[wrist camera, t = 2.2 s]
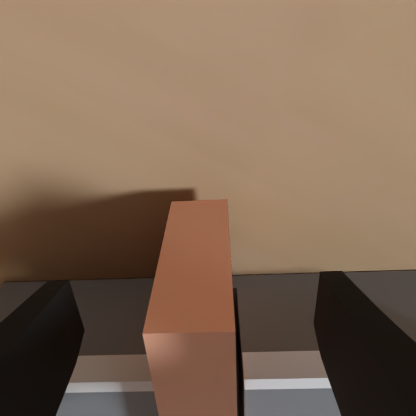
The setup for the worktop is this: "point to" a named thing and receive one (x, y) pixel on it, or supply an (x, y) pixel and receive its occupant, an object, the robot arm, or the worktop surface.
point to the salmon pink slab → (193, 314)
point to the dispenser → (244, 332)
